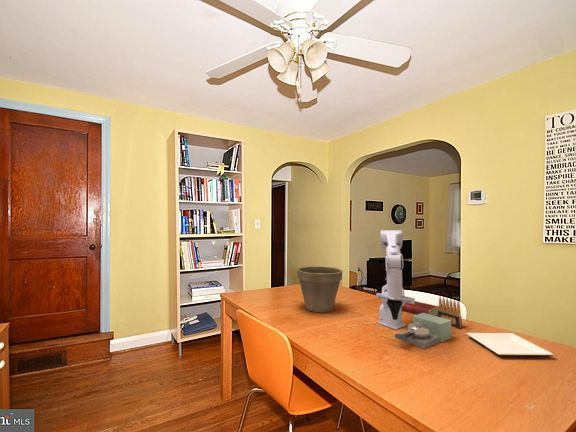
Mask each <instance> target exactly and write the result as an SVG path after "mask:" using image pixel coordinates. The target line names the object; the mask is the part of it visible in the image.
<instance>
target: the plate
mask: <svg viewBox="0 0 576 432" xmlns="http://www.w3.org/2000/svg"><path fill="white" fill-rule="evenodd" d="M465 334H466V335H467V336H468V337H470V338H471V339H473V340H474V341H476V342H477V343H479V344H481V345H482V346H484V347H485V348H487V349H488V350H490V351H492V352H493V353H495V354H496V355H498V356H501V357H502V356H503V357H504V356H505V357H513V356H515V357H552V356H554V355H555V354H554V353H552V352H550V351H548V350H546V349H544V348H542V347H540V346H538V345H536V344H534V343H532V342H531V341H528V340H526V339H524V338H522V337H520V336H519V335H516V334H514V333H513V332H466V333H465Z"/></svg>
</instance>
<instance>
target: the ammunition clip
mask: <svg viewBox="0 0 576 432" xmlns="http://www.w3.org/2000/svg"><path fill="white" fill-rule="evenodd" d="M437 306H438V308H439V311H438V314H437V317H441V318H445V319H448V320H451V327H453V328H456V329H458V330H459V329H462V328H463V321H462V313H461V304H460V301H459V300H457V302H456V300H455V299H454V300H453V301H452V298H450V299H449V298H448V297H447V298H446V299H445V297H443V298H442V296H439V298H438V305H437Z"/></svg>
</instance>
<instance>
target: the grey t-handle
mask: <svg viewBox="0 0 576 432" xmlns="http://www.w3.org/2000/svg"><path fill="white" fill-rule="evenodd" d="M407 331H408V332H407V333H404V334H402V335H400V334H399V333H395V334H394V338H395V339H398V340H400V339H401V340H400V341H403V342H405V341H407V338H408V337H410V336H412V337H415V338H421V339H425V338H429V337H430V328H429V327H428V326H426V325H423V324H421V323H419V322H416V323H413V322H412V323H408V324H407Z"/></svg>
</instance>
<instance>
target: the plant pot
mask: <svg viewBox="0 0 576 432" xmlns="http://www.w3.org/2000/svg"><path fill="white" fill-rule="evenodd" d="M296 271H297V279H298V280H299V285H300V289H301V293H302V298H303V301H304V302H303V303H304V305H305V308H306V309H307V310H308V311H309V312H314V313H328V312H331V311H333V308H334V306H335V305H334V304H335V302H336V298H337V294H338V291H339V287H340V283H341V281H342V280H343V269H340V268H338V267H330V266H303V267H298V268H297V270H296Z"/></svg>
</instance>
